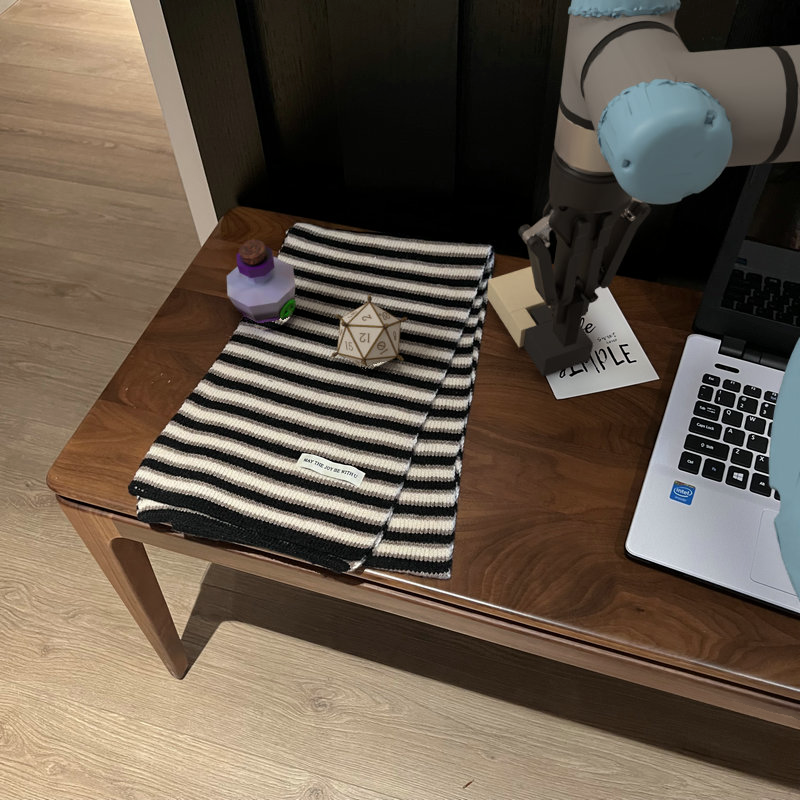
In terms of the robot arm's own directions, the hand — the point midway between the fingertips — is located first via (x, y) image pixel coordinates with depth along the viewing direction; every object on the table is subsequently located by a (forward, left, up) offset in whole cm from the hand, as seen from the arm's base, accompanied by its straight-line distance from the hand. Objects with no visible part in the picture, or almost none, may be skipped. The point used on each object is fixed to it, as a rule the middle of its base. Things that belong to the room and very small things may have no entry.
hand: (564, 336), depth 85 cm
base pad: (+9, -1, -6) cm, 11 cm away
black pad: (+3, -1, -6) cm, 7 cm away
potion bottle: (+22, +29, -7) cm, 37 cm away
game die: (+11, +19, -7) cm, 23 cm away
